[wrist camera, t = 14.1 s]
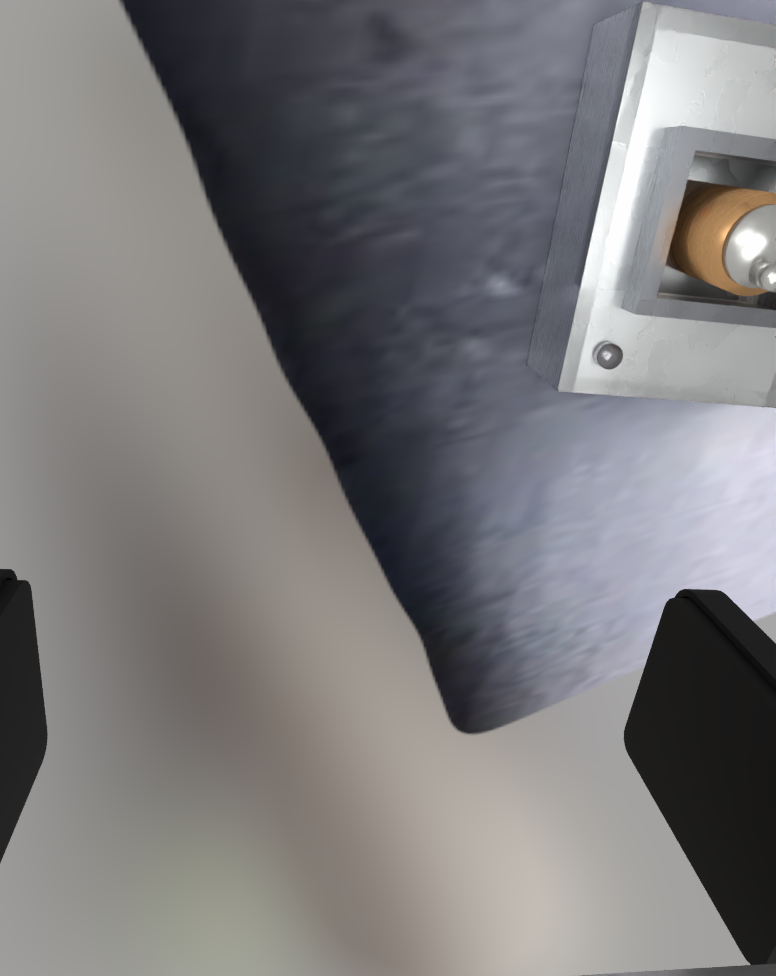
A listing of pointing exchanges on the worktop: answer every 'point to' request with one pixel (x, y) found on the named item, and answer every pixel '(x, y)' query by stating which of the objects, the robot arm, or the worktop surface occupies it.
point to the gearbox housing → (659, 212)
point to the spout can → (726, 237)
